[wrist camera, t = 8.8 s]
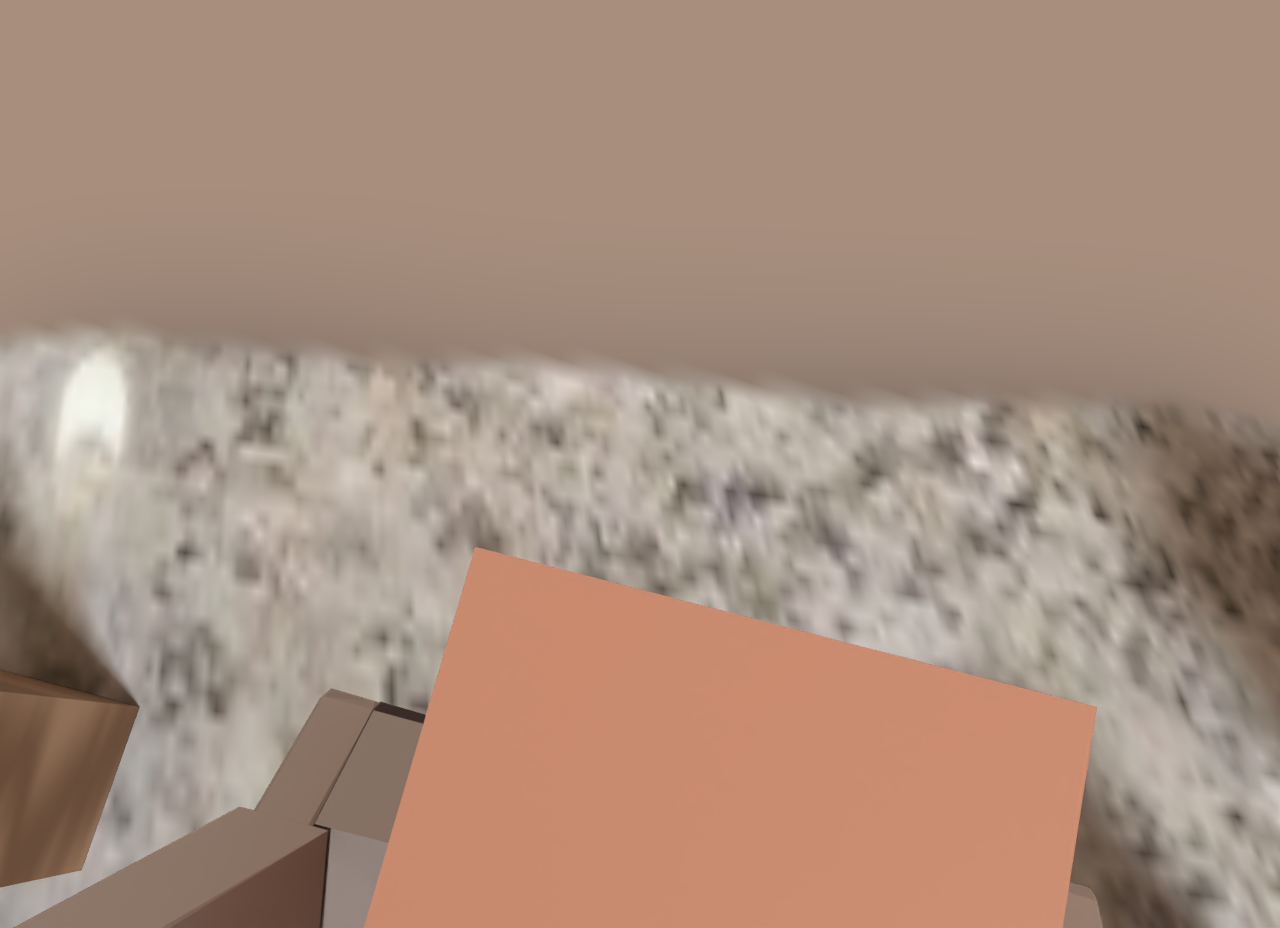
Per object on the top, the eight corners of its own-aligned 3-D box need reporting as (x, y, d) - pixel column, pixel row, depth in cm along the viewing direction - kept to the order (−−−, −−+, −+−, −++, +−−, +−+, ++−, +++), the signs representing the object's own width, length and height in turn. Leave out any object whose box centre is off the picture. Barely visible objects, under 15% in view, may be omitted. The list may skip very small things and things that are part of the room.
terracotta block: (773, 1058, 16) (982, 1440, 7) (456, 973, 16) (271, 1242, 7) (841, 731, 17) (1095, 707, 8) (543, 654, 17) (474, 547, 8)
